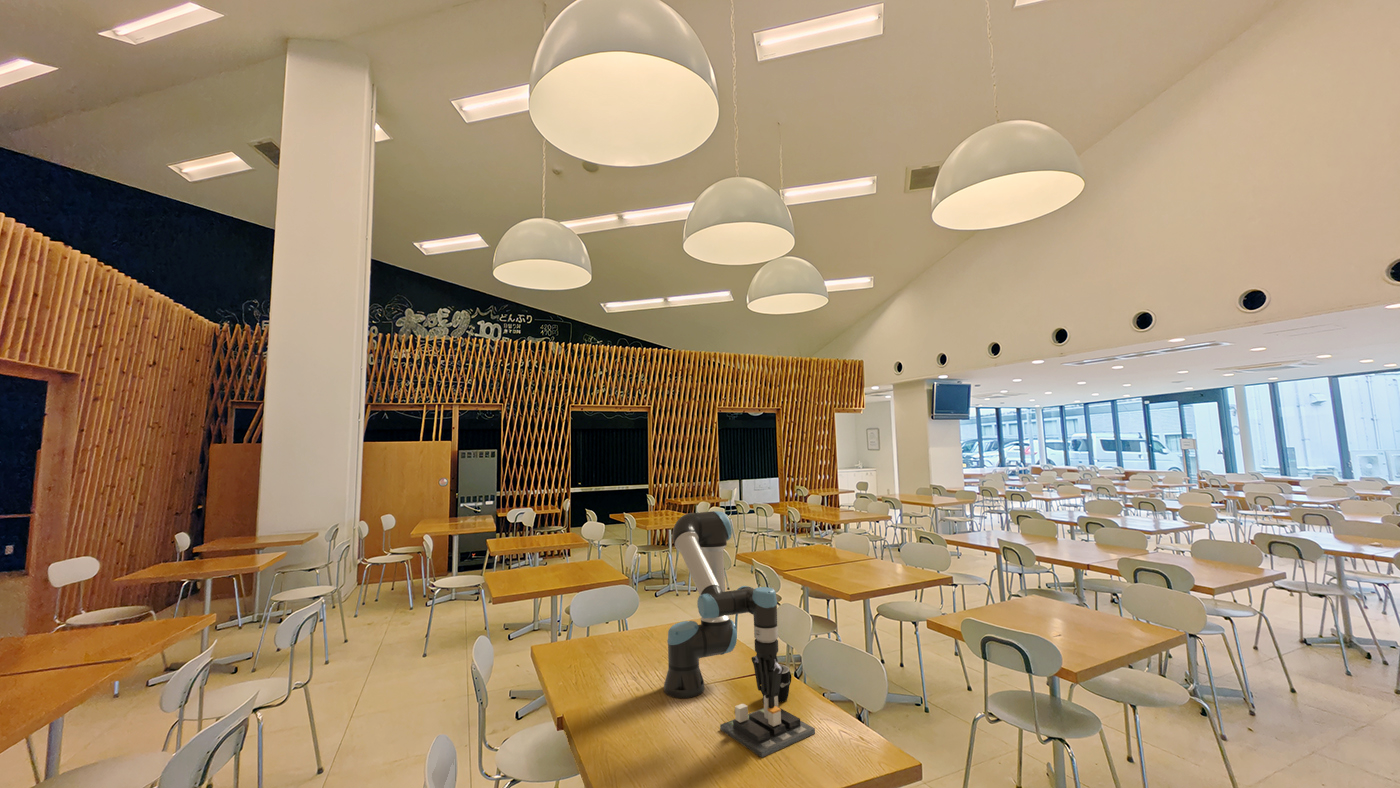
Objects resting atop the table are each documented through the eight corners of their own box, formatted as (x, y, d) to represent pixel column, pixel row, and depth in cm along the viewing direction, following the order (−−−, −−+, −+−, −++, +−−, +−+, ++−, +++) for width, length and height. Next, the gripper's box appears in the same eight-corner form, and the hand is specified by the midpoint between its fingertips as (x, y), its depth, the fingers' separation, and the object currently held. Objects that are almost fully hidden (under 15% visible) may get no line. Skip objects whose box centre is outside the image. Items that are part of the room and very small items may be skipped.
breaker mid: (768, 723, 165) (767, 708, 166) (775, 720, 167) (775, 705, 168) (773, 726, 163) (772, 711, 164) (781, 723, 165) (780, 708, 165)
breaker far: (766, 707, 176) (765, 694, 176) (773, 704, 177) (772, 692, 178) (771, 710, 174) (770, 697, 174) (778, 707, 175) (777, 694, 176)
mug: (779, 706, 184) (778, 676, 185) (760, 698, 191) (759, 668, 192) (801, 695, 192) (799, 666, 193) (781, 688, 199) (780, 659, 200)
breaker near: (735, 719, 168) (735, 706, 169) (743, 716, 170) (742, 703, 170) (740, 722, 166) (739, 709, 167) (748, 719, 168) (747, 706, 169)
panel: (720, 729, 170) (720, 718, 170) (771, 709, 182) (771, 698, 182) (761, 757, 153) (761, 744, 154) (815, 733, 166) (814, 721, 166)
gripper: (744, 636, 173) (746, 712, 170) (771, 647, 163) (774, 729, 160) (761, 631, 177) (764, 705, 175) (789, 641, 167) (792, 721, 164)
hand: (769, 717), depth 167 cm, fingers closed
